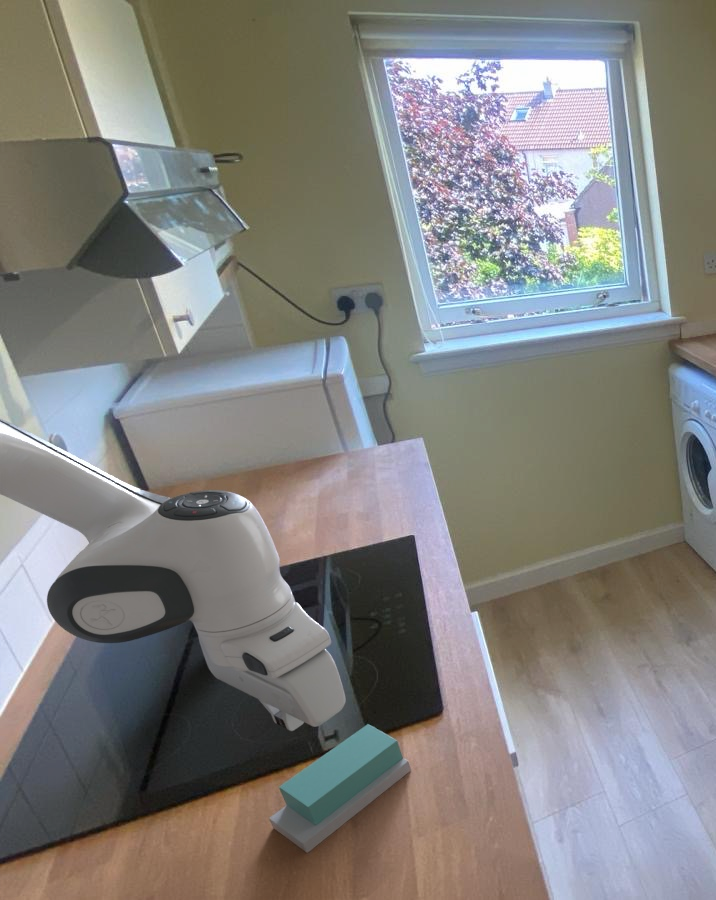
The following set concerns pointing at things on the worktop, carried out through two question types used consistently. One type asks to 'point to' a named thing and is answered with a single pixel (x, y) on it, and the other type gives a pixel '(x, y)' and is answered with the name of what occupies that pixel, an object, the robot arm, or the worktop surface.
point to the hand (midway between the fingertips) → (290, 723)
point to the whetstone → (338, 786)
